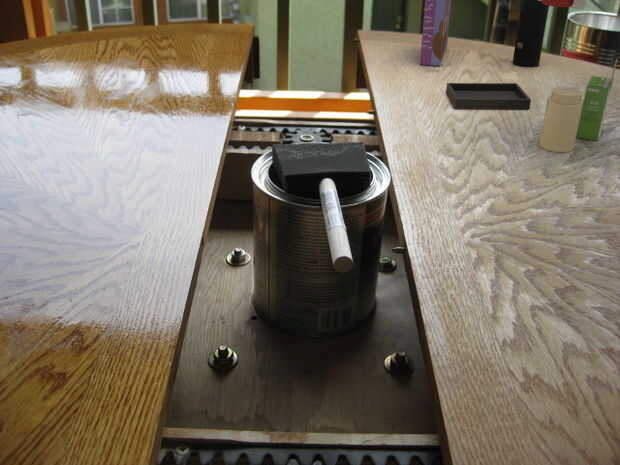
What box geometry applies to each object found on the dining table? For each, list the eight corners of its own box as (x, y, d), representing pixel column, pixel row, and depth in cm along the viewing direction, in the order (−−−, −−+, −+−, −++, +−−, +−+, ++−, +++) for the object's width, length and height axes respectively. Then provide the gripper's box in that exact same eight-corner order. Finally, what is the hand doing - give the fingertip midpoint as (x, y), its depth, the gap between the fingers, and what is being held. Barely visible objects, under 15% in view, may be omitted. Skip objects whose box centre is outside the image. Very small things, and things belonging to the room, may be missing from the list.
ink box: (580, 125, 126) (595, 55, 119) (602, 129, 124) (618, 58, 118) (574, 137, 121) (590, 65, 114) (597, 141, 119) (614, 68, 112)
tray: (515, 92, 144) (517, 83, 143) (529, 109, 134) (531, 99, 133) (445, 92, 144) (446, 82, 143) (454, 109, 135) (455, 99, 134)
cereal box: (439, 66, 162) (449, -38, 150) (419, 65, 163) (428, -39, 151) (446, 49, 177) (456, -48, 165) (428, 48, 178) (437, -48, 166)
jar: (567, 140, 120) (578, 85, 115) (578, 152, 115) (590, 96, 110) (535, 140, 120) (544, 85, 115) (545, 152, 115) (555, 96, 110)
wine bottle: (540, 61, 166) (563, -69, 151) (537, 68, 161) (560, -67, 146) (514, 59, 168) (534, -70, 153) (510, 65, 163) (530, -68, 148)
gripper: (514, -90, 111) (502, -4, 118) (617, -81, 95) (597, 17, 102) (540, -91, 114) (527, -7, 120) (645, -83, 98) (623, 13, 105)
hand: (560, 4), depth 111 cm, fingers closed on jar lid, 6 cm apart
